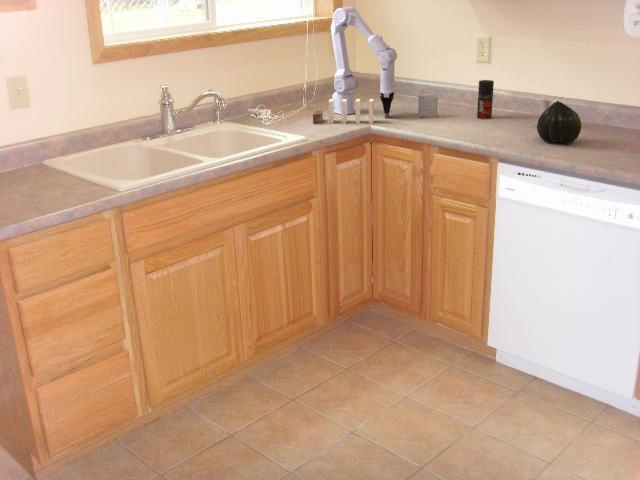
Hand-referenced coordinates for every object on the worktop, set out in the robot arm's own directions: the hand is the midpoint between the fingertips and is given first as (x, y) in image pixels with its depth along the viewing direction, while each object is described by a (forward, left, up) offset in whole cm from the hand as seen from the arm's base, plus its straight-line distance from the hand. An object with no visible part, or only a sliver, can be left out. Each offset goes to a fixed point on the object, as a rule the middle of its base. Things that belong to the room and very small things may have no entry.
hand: (387, 111), depth 313 cm
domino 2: (-6, -19, -2) cm, 20 cm away
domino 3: (-2, -15, -2) cm, 15 cm away
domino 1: (-10, -23, -2) cm, 25 cm away
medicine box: (+11, +13, -3) cm, 17 cm away
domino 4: (+2, -11, -2) cm, 11 cm away
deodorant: (+29, +28, -3) cm, 40 cm away
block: (-14, -27, -2) cm, 30 cm away
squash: (+73, +16, -3) cm, 75 cm away
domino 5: (0, 0, -2) cm, 2 cm away
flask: (+55, +33, -3) cm, 64 cm away
